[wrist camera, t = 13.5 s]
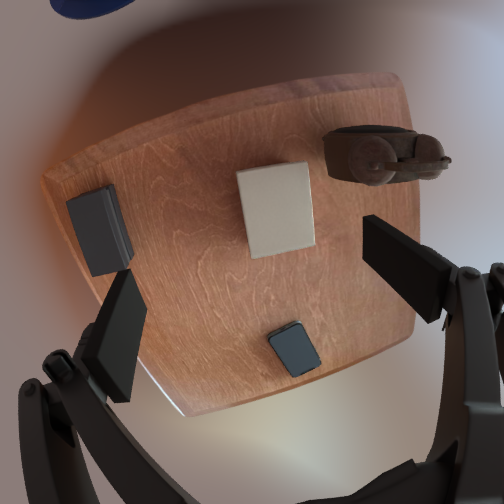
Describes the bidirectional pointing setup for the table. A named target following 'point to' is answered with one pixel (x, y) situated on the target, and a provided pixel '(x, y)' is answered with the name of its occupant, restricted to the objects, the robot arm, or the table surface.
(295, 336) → the smartphone
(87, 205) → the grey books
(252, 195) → the light grey rectangular slab
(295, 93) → the table surface
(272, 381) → the table surface
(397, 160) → the alarm clock
